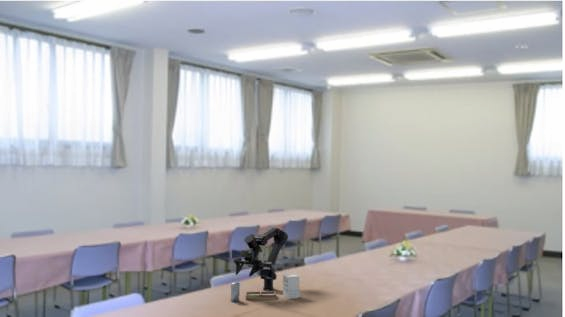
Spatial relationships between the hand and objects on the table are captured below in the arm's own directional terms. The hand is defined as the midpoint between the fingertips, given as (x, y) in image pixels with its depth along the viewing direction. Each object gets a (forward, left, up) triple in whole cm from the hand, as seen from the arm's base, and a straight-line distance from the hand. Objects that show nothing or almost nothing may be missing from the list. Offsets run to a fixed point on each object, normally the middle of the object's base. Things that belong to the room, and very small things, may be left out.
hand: (242, 275), depth 293 cm
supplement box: (-1, +28, -13) cm, 31 cm away
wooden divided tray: (-1, +10, -13) cm, 17 cm away
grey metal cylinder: (+6, -4, -13) cm, 15 cm away
